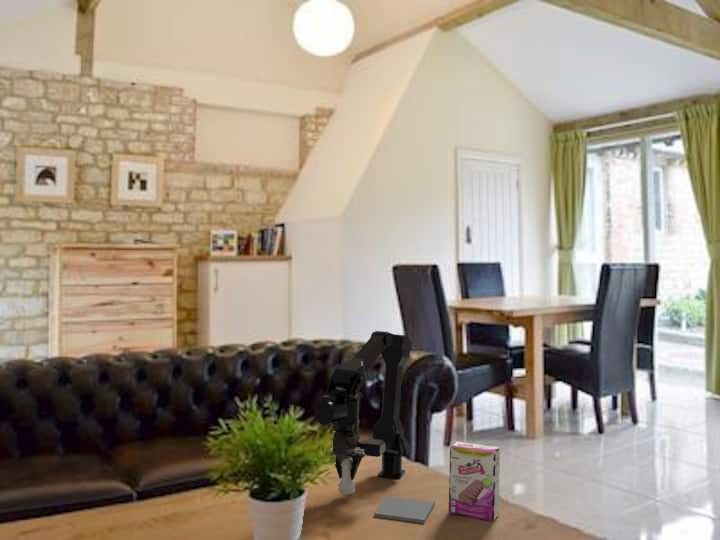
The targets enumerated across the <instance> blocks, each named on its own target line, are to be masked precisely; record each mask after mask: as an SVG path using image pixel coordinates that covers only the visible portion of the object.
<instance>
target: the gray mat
mask: <svg viewBox="0 0 720 540" xmlns="http://www.w3.org/2000/svg"><path fill="white" fill-rule="evenodd" d="M434 507H435V501H429V500H421V499H416V498H415V499H414V498H406V497H401V496H400V497H399V496H390V495H387V496H386V497H385V499H384V500H383V501H382V502H381V504H380V505H379V506H378V508H377V509H376V510H375V511H374V512H373V517H375V518H382V519H383V518H384V519H389V520H390V519H391V520H397V521H404V522H411V523H412V522H413V523H417V524H418V523H419V524H426V522H427V520H428V518H429V516H430V515H431V512H432V510H433V508H434Z"/></svg>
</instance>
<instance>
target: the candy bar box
mask: <svg viewBox="0 0 720 540" xmlns="http://www.w3.org/2000/svg"><path fill="white" fill-rule="evenodd" d="M500 465H501V448H500V447H498V446H491V445H485V444H478V443H471V442H464V441H457V440H456V441H454V442H453V443H452V444H450V446H449V478H448V481H449V482H448V483H449V484H448V487H449V488H448V514H451V515H457V516H461V517H466V518H471V519H477V520H483V521H487V522H495V521H496V519H497V518H498V516H499V515H500V513H499V512H500V511H499V510H500V509H499V508H500V506H499V504H500V467H501V466H500Z"/></svg>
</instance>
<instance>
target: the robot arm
mask: <svg viewBox="0 0 720 540" xmlns="http://www.w3.org/2000/svg"><path fill="white" fill-rule="evenodd" d="M412 342H413V341H412V340H411V339H410V338H409V336H408V335H407V334H396V333H395V334H394V333H392V332H389V331H380V330H375V331H373V332H372V333H371V335H370V338H369V339H368V340H367V341H366V342H365V344H363V346H362V347H361V348H360V350H359V351H357V353H356V354H355V355H354V357H352V359H351V358H350V360H346V361H344V362H342V363H341V364H339V365H338V366H337V367H336V368H335V369H334V371H333V372H332V375H331V377H330V379H329V383H328V385H327V388H326V390H325V392H324V395H322V396H321V401H319V402H318V403H317V404H316V406H315V408H314V411H313V412H314V417H315V419H316V421H317V422H318V423H319V424H320V425H322V426H329V425H331V424H334V426H333V427H334V428H333V431H336V432H335V433H334V439H333V451H334V454H335V455H336V464H334V466H335V468H336V472H337V474H338V478H339V479H340V480H341V478H342V470H341V469H342V466H341V462H342V460H343V459H344V455H347V454H348V453H349V450H353V451H354V453H353V454H351V457H350V458H351V460H352V469H351V480H353V481H354V479H355V478H356V474H357V472H358V469H359V466H360V464H361V461H362V459H363V458H365V457H375V458H376V457H381V470H380V471H379V472H378V473H377V476H378V477H382V478H383V477H384V478H391V479H392V478H393V479H401V478H402V477H403V475H404V474H405V473H406V470H405V469H403V468H402V467H403V457H405V456H406V457H407V456H408V454H409V453H410V448H411V446H410V444H409V442H408V440H407V439H406V437H405V429H404V425H403V423H402V421H401V419H400V410H401V409H400V408H401V398H402V397H401V395H402V383H403V374H404V373H403V371H404V367H405V364H406V363H407V361H408V360H409V359H410V354H411V350H412V348H413V347H412V345H413V343H412ZM380 356H381V358H382V360H383V362H384V364H385V370H384V383H383V384H384V385H383V397H382V405H381V406H382V408H381V417H380V418H379V419H378V420H377V422H374V424H373V434H372V435H371V436H372V438H370V439H369V440H368V441H366V442H362V441H360V438H361V435H360V434H359V429H360V428H359V427H360V426H359V424H361V420H360V419H359V418H360V399H361V398H364V394H363V393H362V392H361V389H362V388H363V386H364V384H365V383H366V381H367V372H368V371H369V369H370V368H371V367H372V366H373V364H374V363H375V362H376V361H377V360H378V358H379V357H380Z"/></svg>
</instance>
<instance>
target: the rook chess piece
mask: <svg viewBox="0 0 720 540" xmlns="http://www.w3.org/2000/svg"><path fill="white" fill-rule="evenodd" d="M341 466H342V469H341V470H342V478H341V479H340V481H339V483H338V485H337V487H338V489H337V491H338V492H339V493H340V494H342V495H351V494H352V495H353V494H354V493H355V491H356V485H355V483H354V479H353V480H351V469H352V458H349V459H348V458H343V460H342V462H341Z"/></svg>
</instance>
